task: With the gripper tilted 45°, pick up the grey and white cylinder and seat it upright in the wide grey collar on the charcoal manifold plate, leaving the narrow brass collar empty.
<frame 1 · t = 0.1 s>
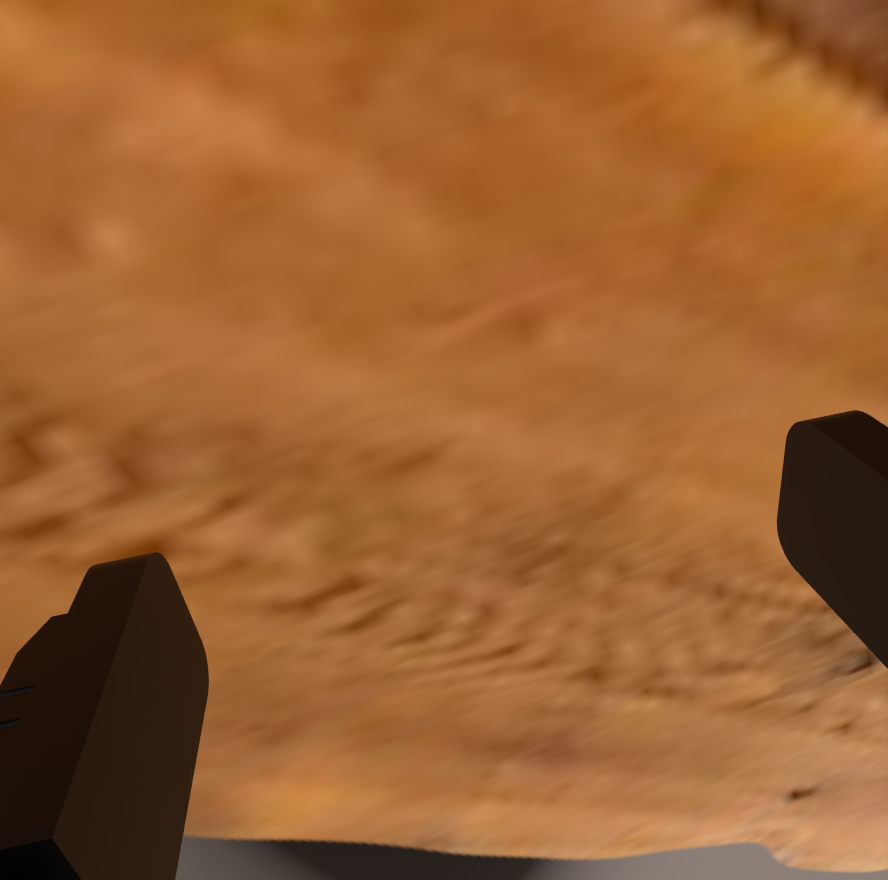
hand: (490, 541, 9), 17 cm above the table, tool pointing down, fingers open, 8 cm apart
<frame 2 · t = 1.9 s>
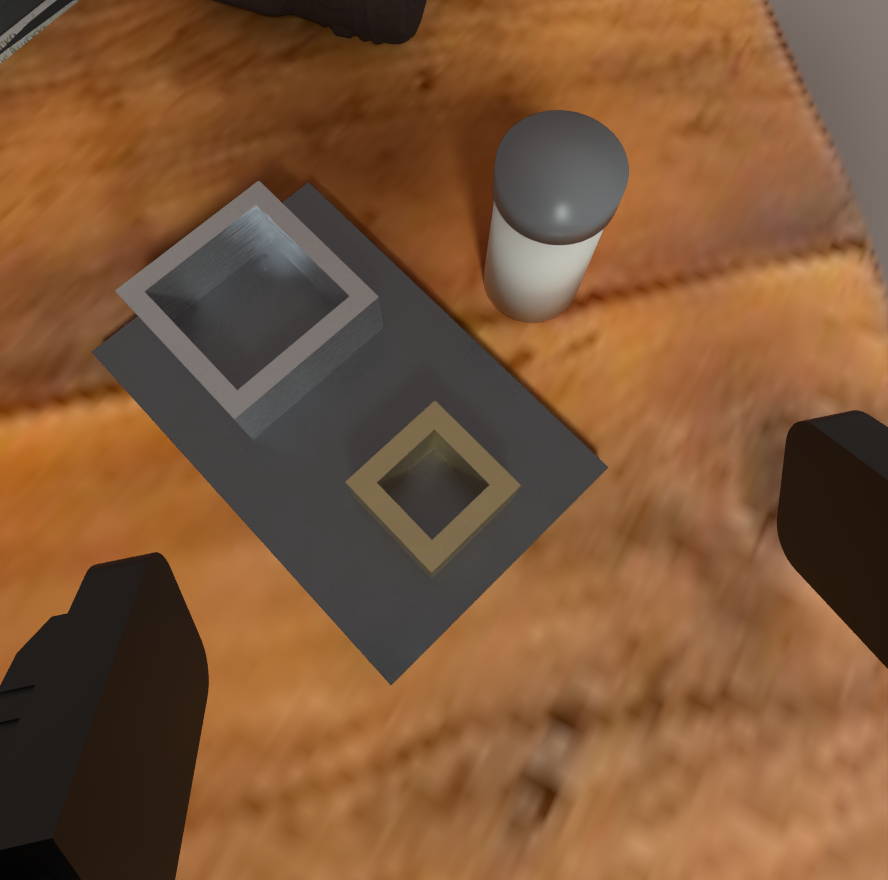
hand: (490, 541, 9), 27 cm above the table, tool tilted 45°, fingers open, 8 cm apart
manifold plate: (348, 417, 38), on the table
grey and white cylinder: (530, 279, 40), on the table
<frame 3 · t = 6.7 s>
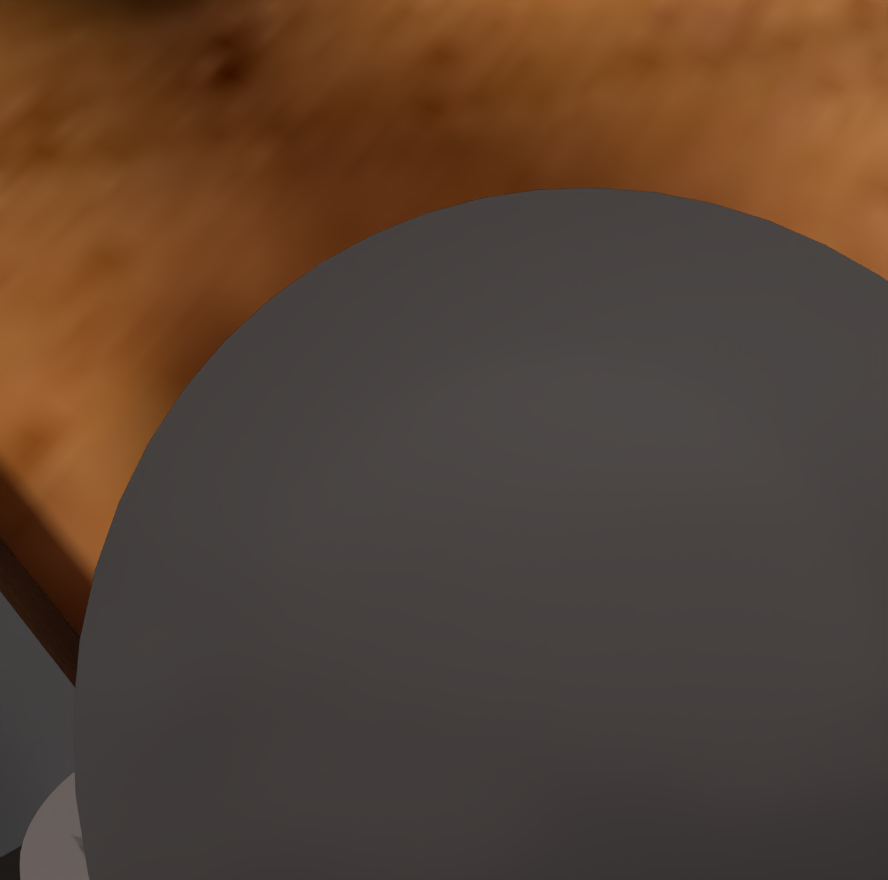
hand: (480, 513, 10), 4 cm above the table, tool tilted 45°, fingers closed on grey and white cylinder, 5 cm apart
grey and white cylinder: (488, 644, 13), on the table, touching gripper
when the fingers open (8 cm above the table, at t = 12.6 s): grey and white cylinder drops 2 cm, resting on manifold plate.
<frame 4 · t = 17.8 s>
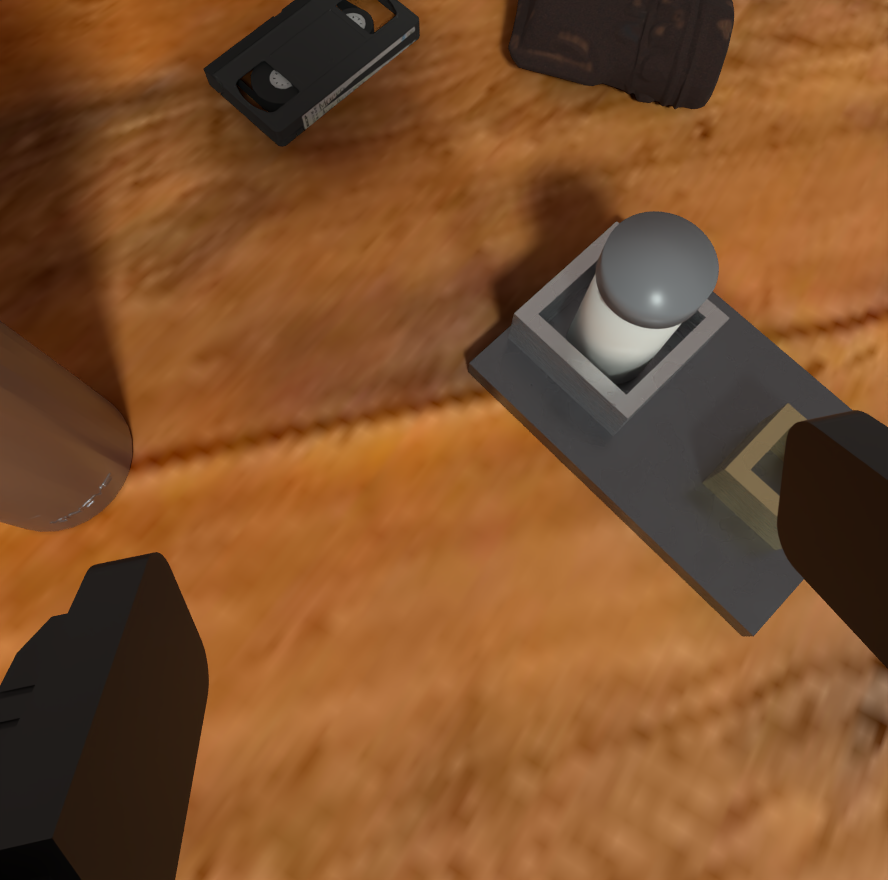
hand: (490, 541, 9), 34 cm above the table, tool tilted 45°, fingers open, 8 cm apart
vhs tape: (318, 67, 53), on the table
manifold plate: (677, 417, 45), on the table
grey and white cylinder: (608, 344, 45), point 2 cm above the table, touching manifold plate
pipe: (609, 34, 54), on the table
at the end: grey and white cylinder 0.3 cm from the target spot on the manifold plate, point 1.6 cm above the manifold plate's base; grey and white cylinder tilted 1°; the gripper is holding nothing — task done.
